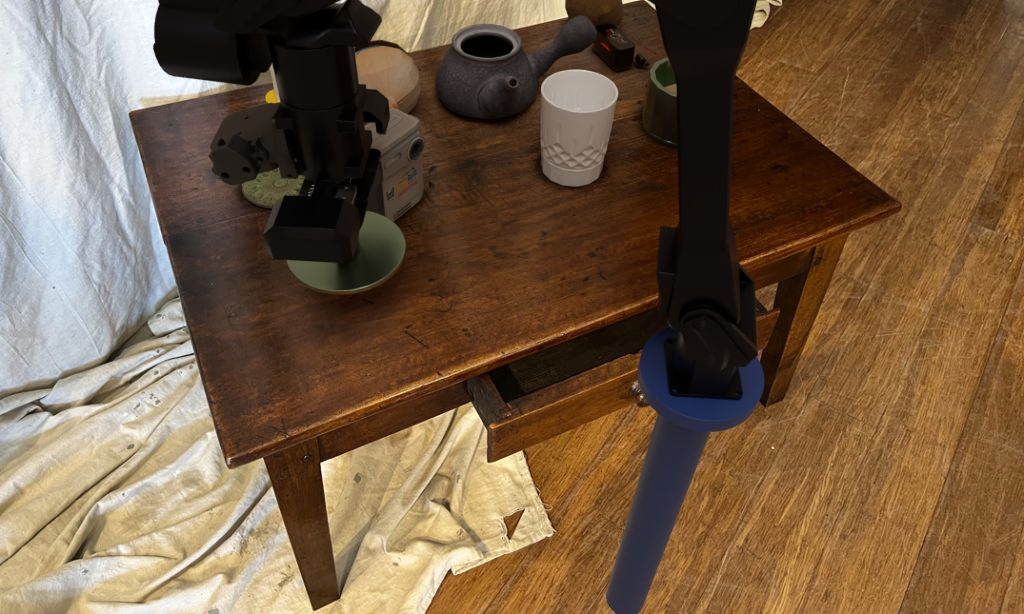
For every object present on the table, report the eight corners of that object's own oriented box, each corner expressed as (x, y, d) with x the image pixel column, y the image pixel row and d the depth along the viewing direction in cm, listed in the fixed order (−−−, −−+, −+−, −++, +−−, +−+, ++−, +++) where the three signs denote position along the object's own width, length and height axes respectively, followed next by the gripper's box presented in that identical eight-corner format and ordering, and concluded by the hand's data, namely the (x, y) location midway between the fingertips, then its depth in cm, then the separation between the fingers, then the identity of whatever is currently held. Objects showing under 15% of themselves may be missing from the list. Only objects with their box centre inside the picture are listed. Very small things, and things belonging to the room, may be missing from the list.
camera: (359, 257, 78) (347, 176, 70) (318, 232, 80) (302, 151, 73) (436, 199, 84) (432, 119, 77) (396, 177, 86) (388, 97, 79)
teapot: (459, 150, 90) (457, 71, 83) (424, 78, 100) (420, 2, 92) (611, 122, 95) (622, 45, 87) (563, 56, 104) (570, -18, 97)
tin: (723, 150, 91) (737, 101, 87) (644, 146, 92) (653, 97, 87) (714, 105, 98) (726, 57, 93) (639, 101, 98) (647, 53, 93)
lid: (397, 303, 66) (392, 259, 62) (275, 296, 66) (262, 251, 62) (413, 221, 73) (410, 177, 69) (303, 215, 73) (293, 170, 69)
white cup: (531, 148, 91) (536, 70, 83) (599, 145, 91) (610, 67, 84) (541, 192, 85) (546, 113, 78) (612, 189, 86) (625, 110, 79)
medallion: (226, 196, 83) (225, 190, 83) (274, 155, 88) (272, 149, 88) (289, 219, 81) (287, 214, 80) (334, 177, 86) (333, 171, 85)
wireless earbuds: (618, 76, 101) (622, 53, 99) (590, 49, 105) (593, 27, 103) (649, 69, 102) (653, 46, 100) (620, 42, 107) (624, 20, 104)
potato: (606, -41, 110) (553, -25, 111) (623, -37, 99) (563, -19, 100) (619, 18, 114) (567, 34, 114) (636, 28, 103) (578, 46, 103)
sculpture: (394, 16, 94) (423, 49, 82) (416, 90, 99) (445, 132, 87) (318, 40, 92) (336, 77, 81) (345, 114, 98) (365, 159, 86)
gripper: (243, 18, 63) (279, 173, 75) (162, 162, 51) (221, 322, 62) (382, 25, 63) (397, 180, 75) (335, 171, 51) (362, 330, 62)
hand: (346, 246), depth 68 cm, fingers closed on lid, 2 cm apart
